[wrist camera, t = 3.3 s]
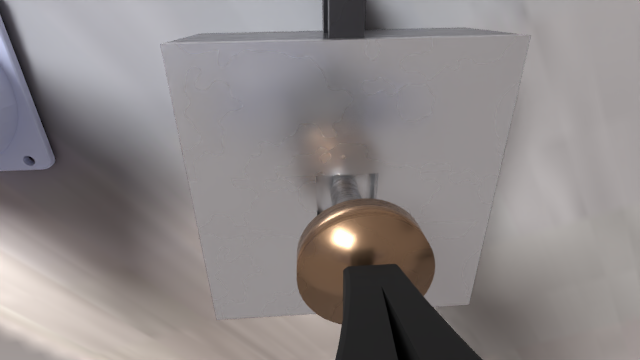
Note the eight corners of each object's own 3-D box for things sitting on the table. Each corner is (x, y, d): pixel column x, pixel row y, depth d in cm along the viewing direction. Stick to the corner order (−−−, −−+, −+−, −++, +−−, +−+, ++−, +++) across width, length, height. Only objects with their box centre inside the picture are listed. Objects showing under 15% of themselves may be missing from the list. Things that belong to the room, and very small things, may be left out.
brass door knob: (243, 276, 17) (221, 392, 12) (214, 74, 13) (158, 119, 8) (436, 265, 18) (495, 373, 12) (469, 67, 13) (579, 105, 8)
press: (234, 251, 21) (216, 319, 16) (190, -29, 14) (141, -47, 10) (432, 241, 21) (468, 304, 17) (473, -34, 15) (550, -51, 10)
